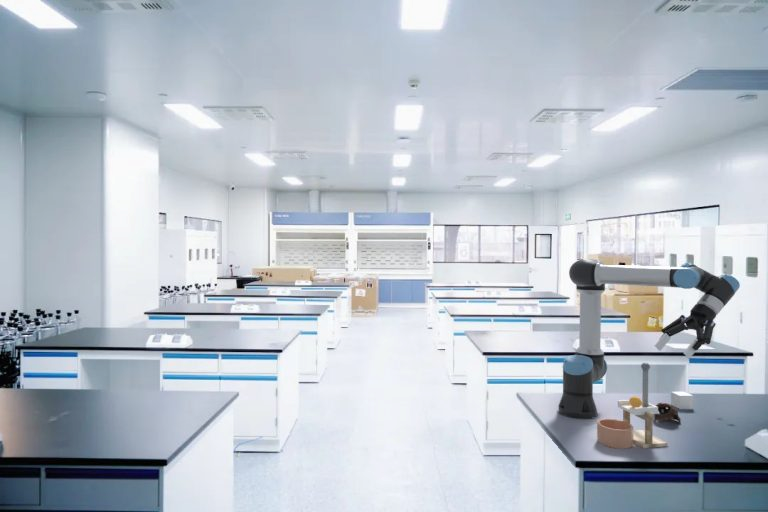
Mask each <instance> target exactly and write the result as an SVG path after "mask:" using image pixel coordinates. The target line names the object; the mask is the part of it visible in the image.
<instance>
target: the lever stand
mask: <svg viewBox="0 0 768 512" xmlns="http://www.w3.org/2000/svg"><path fill="white" fill-rule="evenodd" d="M622 412H623V413H622V421H624V422H627V423H629V424H631V413H629V412H627V411H625V410H623V409H622ZM653 425H654V424H653V413H651V412H645V420H644V430H643V429H633V444H635V445H637V446H639V447H641V448H643V449H650V448H649V447H652V448H662V447H668V442H666V441H665V440H663V439H660V438H659V437H657V436H655V435H653V431H654V430H653Z"/></svg>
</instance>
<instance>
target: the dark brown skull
mask: <svg viewBox="0 0 768 512" xmlns="http://www.w3.org/2000/svg"><path fill="white" fill-rule="evenodd" d="M655 406H657V407H658V414H655V421H654V422H657V421H659V422H660V421H661V422H665V421H669V420H673V421H677V422H678V423H679V424H681V417H680V416H679V412H678V410H677V408H676V407H674V406H672V405H671V403H670V404H669V403H667V402H658V403H657V404H656V405H655Z"/></svg>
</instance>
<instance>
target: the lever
mask: <svg viewBox="0 0 768 512" xmlns="http://www.w3.org/2000/svg"><path fill="white" fill-rule="evenodd" d="M640 367H641V370H642V394H641V395H642V399H641V401H642V405H641V406H640V407H638V408H634V407H632V406H631V405H630V403H629V400H630V399H619V400H618V399H617V407H618V408H619V409H621V410H622V411H623V410H625V411H627V412H629V413H630V414H632V415H633V416H635V417H637V418H638V419H641V420H643V421H645V412H651V413H653V421H654V422H655V414H659V411H658V407H657V406H656V405H654V404H652V403H650V402H649V370H650V369H651V366H650V364H649V363H648V362H643V363H641V365H640Z"/></svg>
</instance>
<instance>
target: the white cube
mask: <svg viewBox="0 0 768 512" xmlns="http://www.w3.org/2000/svg"><path fill="white" fill-rule="evenodd" d="M670 405H671V406H672V405H673V406H672V407H674V406H675V407H674V408H676V407H677V408H676V409H678V408H679V409H678V410H694V395H692V394H691V393H688V392H686V391H670Z"/></svg>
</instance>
